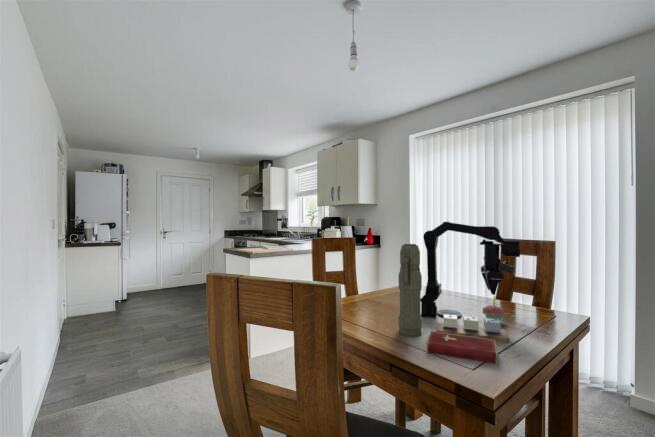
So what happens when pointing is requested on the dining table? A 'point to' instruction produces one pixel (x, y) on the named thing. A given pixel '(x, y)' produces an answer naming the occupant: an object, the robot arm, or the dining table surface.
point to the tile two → (470, 322)
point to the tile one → (450, 320)
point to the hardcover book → (462, 347)
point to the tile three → (492, 324)
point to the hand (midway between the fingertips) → (491, 292)
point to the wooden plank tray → (474, 332)
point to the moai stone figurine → (410, 291)
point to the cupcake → (493, 311)
